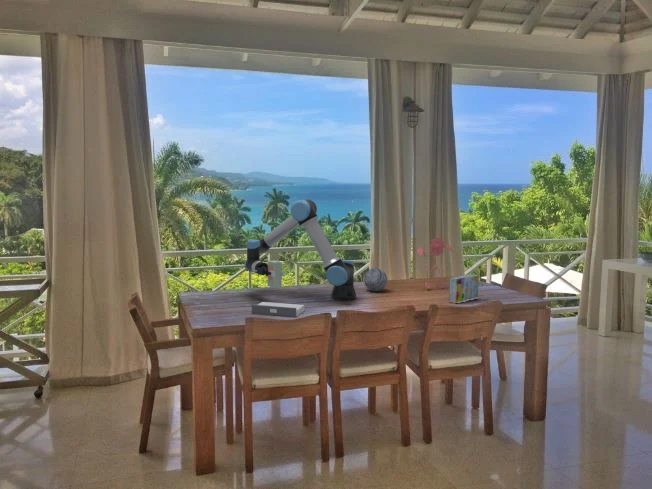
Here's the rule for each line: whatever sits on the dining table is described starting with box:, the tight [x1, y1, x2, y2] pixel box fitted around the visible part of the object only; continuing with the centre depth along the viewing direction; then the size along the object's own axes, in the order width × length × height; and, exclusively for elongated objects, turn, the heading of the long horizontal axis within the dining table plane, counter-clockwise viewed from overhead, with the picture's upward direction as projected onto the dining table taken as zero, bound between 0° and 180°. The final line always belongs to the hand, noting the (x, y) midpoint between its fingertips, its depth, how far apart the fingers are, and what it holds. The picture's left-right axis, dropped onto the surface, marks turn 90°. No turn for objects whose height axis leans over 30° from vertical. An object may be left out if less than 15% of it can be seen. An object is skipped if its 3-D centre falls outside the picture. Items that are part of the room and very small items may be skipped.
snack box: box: [448, 274, 480, 302], centre depth 313 cm, size 21×6×15 cm, turn 129°
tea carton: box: [267, 259, 283, 289], centre depth 293 cm, size 5×7×14 cm
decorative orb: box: [363, 267, 388, 292], centre depth 338 cm, size 15×14×15 cm
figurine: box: [416, 236, 454, 289], centre depth 343 cm, size 15×26×35 cm, turn 115°
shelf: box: [251, 301, 305, 318], centre depth 278 cm, size 24×16×4 cm, turn 75°
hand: (279, 274), depth 288 cm, fingers closed on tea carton, 5 cm apart
